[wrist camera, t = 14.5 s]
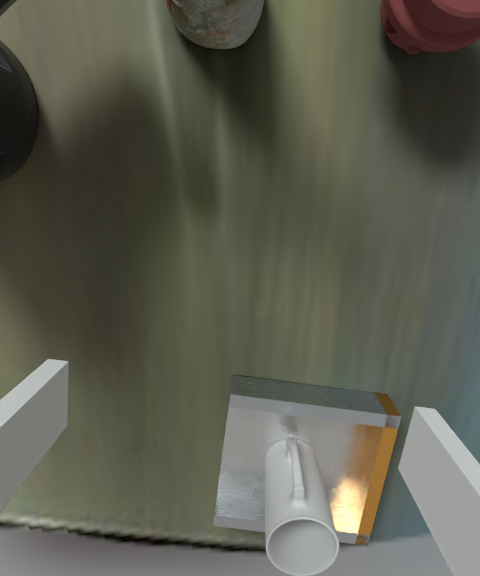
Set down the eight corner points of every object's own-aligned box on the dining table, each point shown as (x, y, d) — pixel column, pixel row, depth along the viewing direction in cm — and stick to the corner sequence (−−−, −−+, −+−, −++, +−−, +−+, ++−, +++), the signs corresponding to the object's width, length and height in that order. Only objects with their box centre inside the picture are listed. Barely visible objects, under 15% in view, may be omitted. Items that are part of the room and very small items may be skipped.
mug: (318, 483, 49) (339, 576, 38) (263, 484, 49) (267, 577, 38) (318, 410, 47) (339, 486, 35) (260, 412, 47) (262, 488, 35)
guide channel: (216, 496, 51) (213, 525, 46) (232, 374, 46) (230, 394, 42) (357, 514, 51) (367, 545, 46) (387, 394, 46) (401, 416, 42)
